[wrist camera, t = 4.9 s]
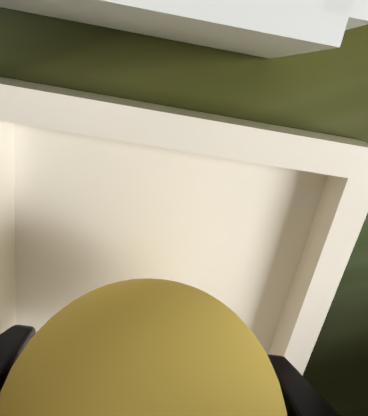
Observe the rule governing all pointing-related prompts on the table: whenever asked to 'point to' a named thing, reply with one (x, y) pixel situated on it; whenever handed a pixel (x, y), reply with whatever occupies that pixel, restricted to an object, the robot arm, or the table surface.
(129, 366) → the ball
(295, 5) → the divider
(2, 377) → the robot arm
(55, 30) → the table surface
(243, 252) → the tray
